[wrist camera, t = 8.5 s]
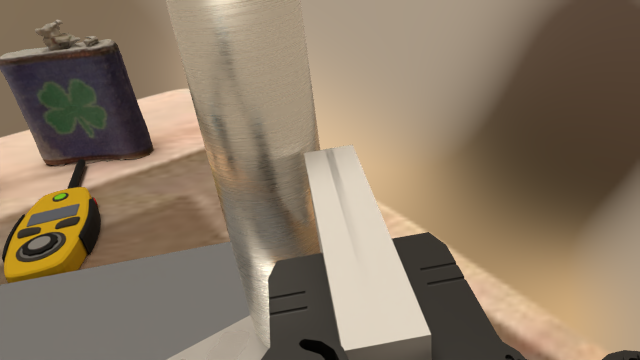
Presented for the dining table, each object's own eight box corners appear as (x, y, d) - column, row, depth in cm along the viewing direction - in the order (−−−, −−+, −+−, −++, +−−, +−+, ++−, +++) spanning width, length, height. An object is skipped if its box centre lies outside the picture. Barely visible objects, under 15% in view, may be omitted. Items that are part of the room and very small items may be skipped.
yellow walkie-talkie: (-22, 280, 24) (43, 154, 37) (-5, 308, 25) (54, 176, 38) (78, 255, 25) (108, 140, 37) (91, 283, 26) (117, 162, 38)
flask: (39, 168, 38) (-25, 34, 33) (58, 151, 41) (2, 24, 36) (147, 159, 38) (101, 20, 32) (160, 143, 40) (119, 11, 35)
